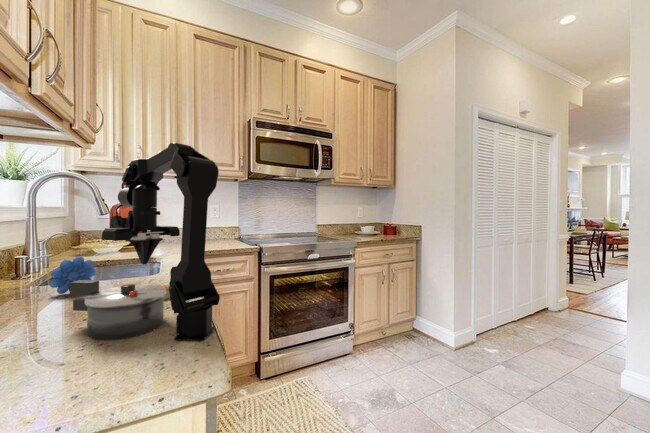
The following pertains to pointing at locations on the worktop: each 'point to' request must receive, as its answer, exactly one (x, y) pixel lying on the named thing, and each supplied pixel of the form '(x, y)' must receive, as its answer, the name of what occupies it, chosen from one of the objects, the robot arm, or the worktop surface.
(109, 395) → the worktop surface
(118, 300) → the cooker lid
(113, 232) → the robot arm
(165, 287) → the bread roll
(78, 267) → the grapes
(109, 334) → the cooker pot
